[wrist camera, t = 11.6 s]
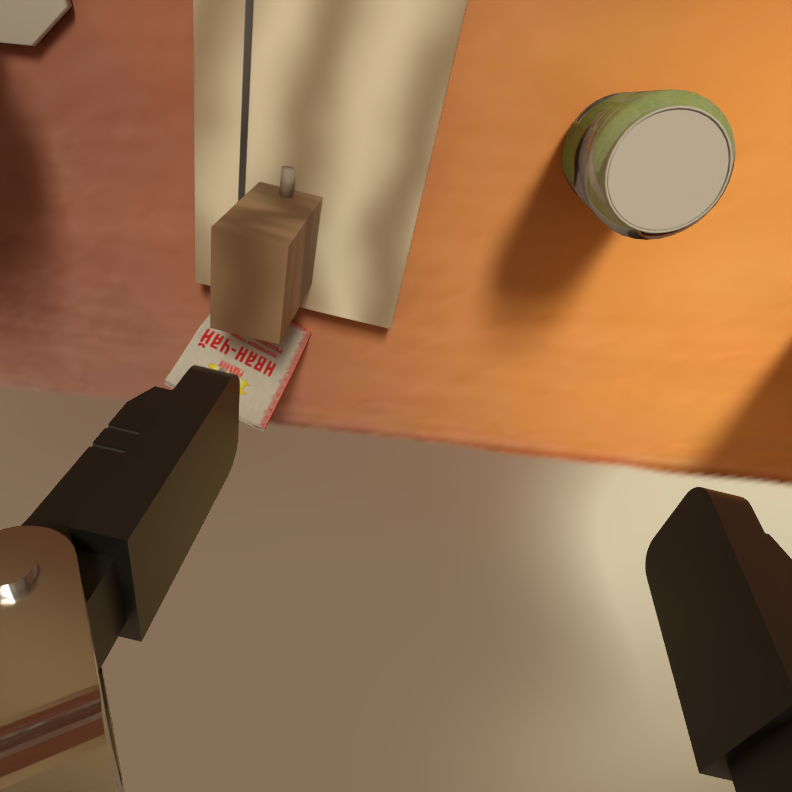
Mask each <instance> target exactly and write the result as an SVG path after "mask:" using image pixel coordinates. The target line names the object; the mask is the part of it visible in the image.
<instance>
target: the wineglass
mask: <svg viewBox="0 0 792 792" xmlns="http://www.w3.org/2000/svg"><path fill="white" fill-rule="evenodd" d="M71 7H72V3H71V0H0V43H6V44H17V45H27V46H36V45H37V44H38V43H39V42H40V41H41V40H42V39H43V38H44V37H45V36H46V34H47V33H48V32H49V31H50V30H51V29H52V28H53V27H54V26H55V24H56V23H57V22H58V21H59V20H60V19H61V18H62V17H63V16H64V14H65V13H66V12H67V11H68V10H69V9H70V8H71Z"/></svg>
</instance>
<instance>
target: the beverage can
mask: <svg viewBox="0 0 792 792" xmlns="http://www.w3.org/2000/svg"><path fill="white" fill-rule="evenodd" d="M734 160H735V141H734V137H733V133H732V129H731V127H730V125H729V123H728V120H727V118H726V117H725V116H724V114H723V113H722V112H721V110H720V109H719V108H718V107H717V106H716V105H714V104H713V103H712V102H711V101H710V100H708V99H706V98H704V97H702V96H700V95H698V94H696V93H692V92H688V91H684V90H657V91H639V92H623V93H616V94H612V95H609V96H605V97H603V98H601V99H599V100H597V101H595V102H594V103H592V104H591V105H590V106H588V107H587V108H586V109H585V110H584V111H583V112H582V113H581V114H580V115H579V116H578V117H577V118H576V120H575V121H574V123H573V124H572V126H571V128H570V129H569V131H568V133H567V136H566V139H565V142H564V146H563V152H562V165H563V171H564V174H565V177H566V180H567V182H568V184H569V185H570V187H571V189H572V190H573V191H574V192H575V193H576V194H577V195H578V196H579V197H580V199H581V200H582V201H583V202H584V203H585V204H586V205H587V206H588V207H589V208H590V209H591V210H592V211H593V213H594V214H595V215H596V216H597V217H598V218H599V219H600V220H601V221H602V222H603V223H604V224H605V225H606V226H608V227H609V228H610V229H612V230H613V231H615V232H617V233H619V234H621V235H623V236H627V237H631V238H634V239H645V240H648V239H659V238H664V237H668V236H672V235H674V234H676V233H679V232H681V231H684V230H685V229H687V228H689V227H690V226H692V225H694V224H695V223H697V222H698V221H699V220H700V219H702V218H703V217H704V216H705V215H706V214H707V213H708V212H709V211H710V210H711V209H712V208H713V207H714V206H715V205H716V203H717V202H718V200H719V199H720V197H721V196H722V195H723V193H724V191H725V189H726V187H727V185H728V183H729V181H730V177H731V174H732V171H733V167H734Z"/></svg>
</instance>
